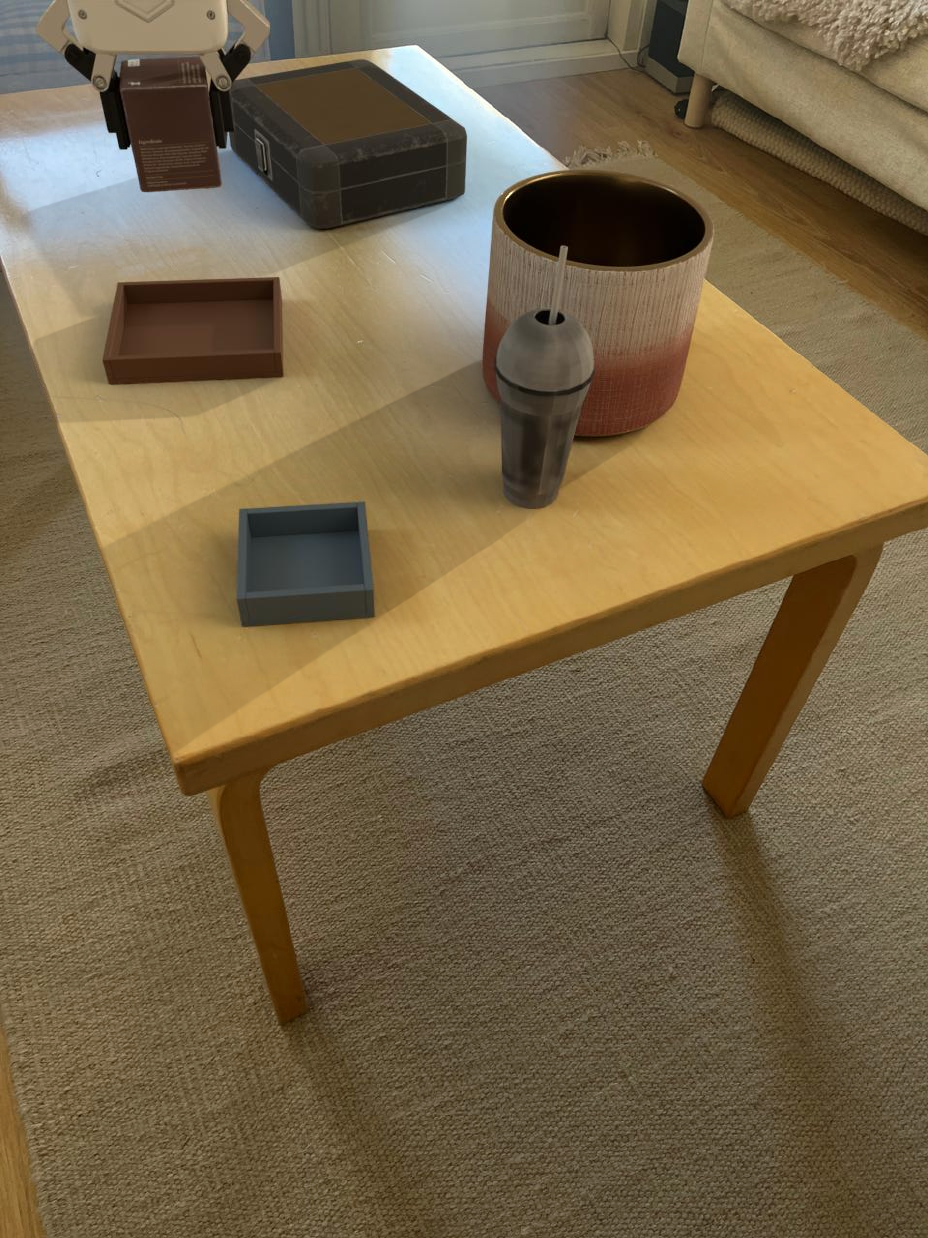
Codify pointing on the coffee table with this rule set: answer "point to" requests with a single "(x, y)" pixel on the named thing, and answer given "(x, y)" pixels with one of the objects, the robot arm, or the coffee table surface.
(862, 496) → the coffee table surface
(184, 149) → the box
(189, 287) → the tray
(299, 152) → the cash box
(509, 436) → the beverage cup
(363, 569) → the bin
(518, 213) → the planter
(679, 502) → the coffee table surface
